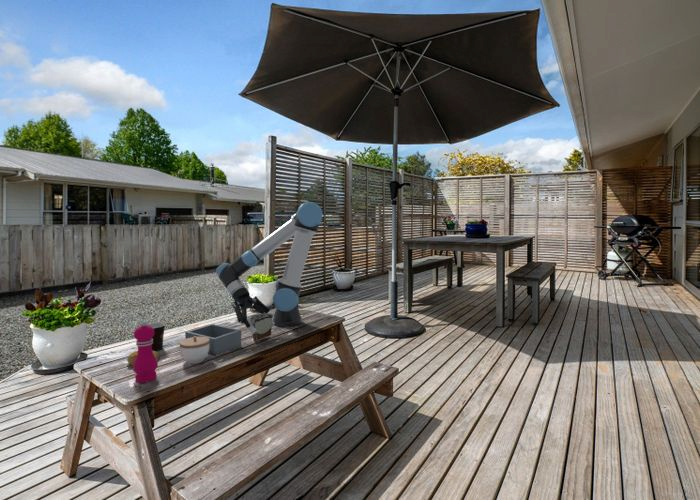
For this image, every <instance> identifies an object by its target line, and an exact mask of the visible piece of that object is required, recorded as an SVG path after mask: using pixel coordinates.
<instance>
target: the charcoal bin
mask: <svg viewBox="0 0 700 500" xmlns="http://www.w3.org/2000/svg"><path fill="white" fill-rule="evenodd" d="M184 334H185V338H184V339H187V338H191V337H194V336H196V337H207V338H209V339H210V348H209V353H208V355H209V356H213V357H216V356H220V355H221V354H224V353H227V352H230V351H232V350H234V349H237V348H240V347H242V329H237V328H232V327H229V326H224V325H219V324H215V323H211V324H208V325H204V326H201V327H198V328H194V329H191V330H187V331H185V333H184ZM208 355H207V356H208Z"/></svg>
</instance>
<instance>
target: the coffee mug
mask: <svg viewBox="0 0 700 500" xmlns="http://www.w3.org/2000/svg"><path fill="white" fill-rule="evenodd" d="M147 325H148V326H151V327H152V328H153V329H154V336H153V337H152V339H153V343H152V350H153V351H155V352H158V351H161V350H162V349H163V347H164V345H163V343H164V334H165V325H166V324H165V323H164V322H151V323H147Z"/></svg>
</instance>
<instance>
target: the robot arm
mask: <svg viewBox="0 0 700 500" xmlns="http://www.w3.org/2000/svg"><path fill="white" fill-rule="evenodd" d="M322 220H323V210H322V208H321V206H320V205H319V204H317V203H316V202H314V201H313V202H312V201H305V202H304V203H302V204H301V205H300V206H299V207H298V209H297V211H296V212H295V213H294V214H293V215H291V217H290V220H288V221H286V222H285V223H284V224H283V225H281V226H279V228H277V229H276V230H274V231H273V232H272V233H271V234H269V235H268V236H267V237H265V238H264V239H263V240H261V241H259V242H258V243H257V244H256V245H254V247H252V248H251V249H249V250H247V251H245V252H244V253H242V254H241V255H240V256H239V257H238V258H237V259H235V260H234V261H233V262H231V263H228V262H224V263H222V264H220V265H218V267H216V269H215V273H216V275H217V277H218V280H220V281H221V283H222V285H224V287H225V288H226V290H227V292H228V293H229V295H230V296H231V297H232V299H233V301H234V302H233V303H232V307H233V309H234V311H235V312H234V313H235V316H236V319H237V323H240V324H244V325H245V327H246V328H247V329H248V330H249V332H250V333H251V334H252V335H253V334H254V333H255V332H256V331H257V330H256V328H255V327H254V326H253V324H251V321H250V318H248V312H247V311H248V310H247V309H251V310H254V311H256V312H258V314H264V313H269V312H270V311H271V309H270V308H269V307H267V306H266V305H265V304H264V303H263V302H262V301H261V300H260V299H259V298H258V296H253V297H252V296H251V295H250V292H249V290H248V288H246V285H245V284H244V283H243V281H242V280H241V279H240V277H241V276H243V275H244V274H245V273H247V272H248V271H249V270H250V269H252V268H253V267H255V266H256V264H258V263H259V262H260V261H261V260H263V259H264V258H266V257H267V256H268V255H270V254H271V253H272V252H273V251H275V250H276V249H278V248H279V247H281V246H282V245H283V244H285V243H286V242H287V241H288V240H290V239H291V238H293V239H292V243H291V247H290V250H289V254H288V257H287V262H286V265H285V267H284V270H283V275H282V277H281V278H280V279H278V280H276V281H275V290H274V291H275V292H274V294H273V296H272V302H273V305H274V306H275V312H274V315H273V318H272V327H273V326H276V327H281V328H282V327H284V328H286V327H287V328H289V327H296V326H299V325H301V324H302V323H303V318H302V316H301V313H300V312H301V311H300V307H299V297H300V293H301V290H302V287H303V285H302V284H301V279H302V275H303V271H304V269H305V265H306V261H307V258H308V255H309V251H310V247H311V244H312V240H313V237H314V235H315V234H318V230H319V227H320V224H321V221H322Z"/></svg>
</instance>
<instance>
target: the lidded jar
mask: <svg viewBox="0 0 700 500" xmlns="http://www.w3.org/2000/svg"><path fill="white" fill-rule="evenodd" d="M209 348H210V339H209V338H207V337H196V336H194V337H191V338H187V339H185V338H184V339H182V340H181V341H179V350H180V354H181V357H182V359H184V361H186V363H187V364H199V363H201V362H203V361H205V359H206V358H207V356H208V353H209Z"/></svg>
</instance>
